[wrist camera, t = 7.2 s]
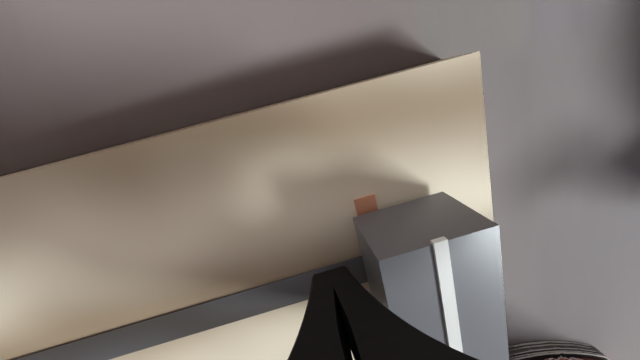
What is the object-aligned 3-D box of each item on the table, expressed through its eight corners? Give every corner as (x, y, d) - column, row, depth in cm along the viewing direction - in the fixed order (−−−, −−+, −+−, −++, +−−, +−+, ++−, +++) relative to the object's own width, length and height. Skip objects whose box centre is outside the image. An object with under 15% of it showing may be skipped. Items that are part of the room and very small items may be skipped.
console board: (472, 319, 17) (505, 357, 14) (2, 466, 16) (-50, 536, 13) (442, 59, 13) (481, 50, 10) (-205, 230, 11) (-338, 268, 9)
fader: (457, 301, 13) (511, 365, 10) (378, 326, 12) (409, 397, 10) (442, 188, 11) (501, 223, 8) (352, 215, 11) (379, 260, 8)
